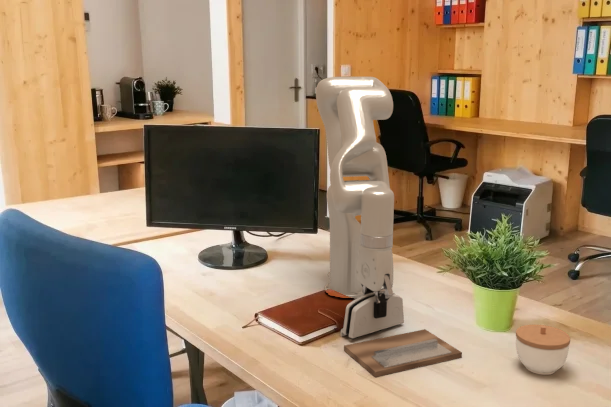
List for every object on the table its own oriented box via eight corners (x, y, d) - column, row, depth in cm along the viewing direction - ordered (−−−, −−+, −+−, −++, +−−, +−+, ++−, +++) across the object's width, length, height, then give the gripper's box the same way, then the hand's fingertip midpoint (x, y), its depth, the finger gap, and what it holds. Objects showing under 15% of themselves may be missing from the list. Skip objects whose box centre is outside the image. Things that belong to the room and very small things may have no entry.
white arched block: (391, 321, 158) (392, 284, 156) (404, 328, 154) (406, 289, 152) (339, 337, 148) (339, 297, 146) (351, 344, 145) (352, 304, 142)
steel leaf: (371, 357, 135) (371, 351, 135) (436, 343, 142) (436, 338, 141) (384, 368, 130) (384, 362, 130) (451, 353, 137) (451, 347, 136)
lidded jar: (578, 377, 128) (582, 334, 127) (531, 382, 126) (534, 339, 124) (548, 354, 139) (551, 315, 137) (504, 359, 137) (506, 319, 135)
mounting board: (343, 350, 141) (344, 345, 141) (424, 333, 150) (425, 329, 150) (375, 377, 129) (375, 371, 129) (461, 357, 138) (462, 352, 137)
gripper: (345, 233, 151) (344, 303, 156) (381, 252, 136) (379, 329, 141) (372, 229, 154) (370, 298, 159) (410, 248, 139) (407, 324, 144)
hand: (374, 312), depth 150 cm, fingers open, 4 cm apart
